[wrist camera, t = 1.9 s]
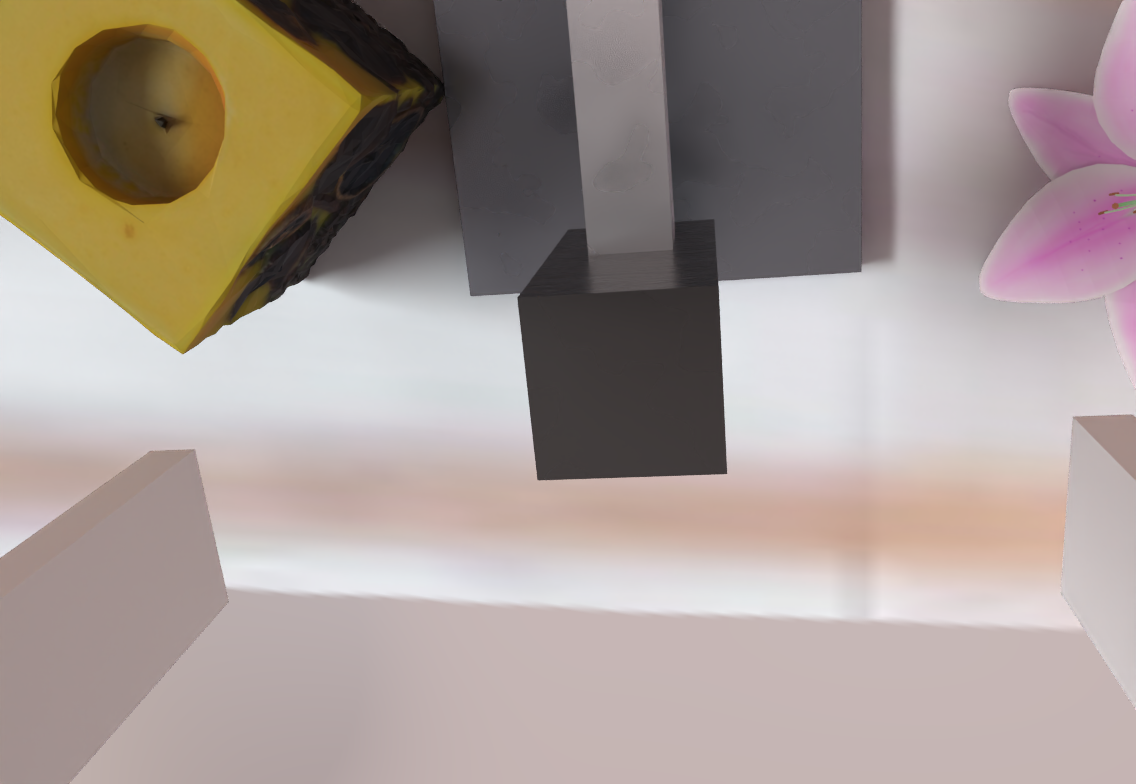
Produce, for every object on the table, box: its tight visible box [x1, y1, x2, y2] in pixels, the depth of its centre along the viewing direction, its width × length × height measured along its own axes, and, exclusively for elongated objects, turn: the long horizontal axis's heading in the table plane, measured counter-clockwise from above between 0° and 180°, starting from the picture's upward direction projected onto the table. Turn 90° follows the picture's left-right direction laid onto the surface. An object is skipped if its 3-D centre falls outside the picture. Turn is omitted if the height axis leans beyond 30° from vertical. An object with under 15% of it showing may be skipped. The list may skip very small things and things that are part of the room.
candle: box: [0, 0, 445, 354], centre depth 32 cm, size 10×10×10 cm
